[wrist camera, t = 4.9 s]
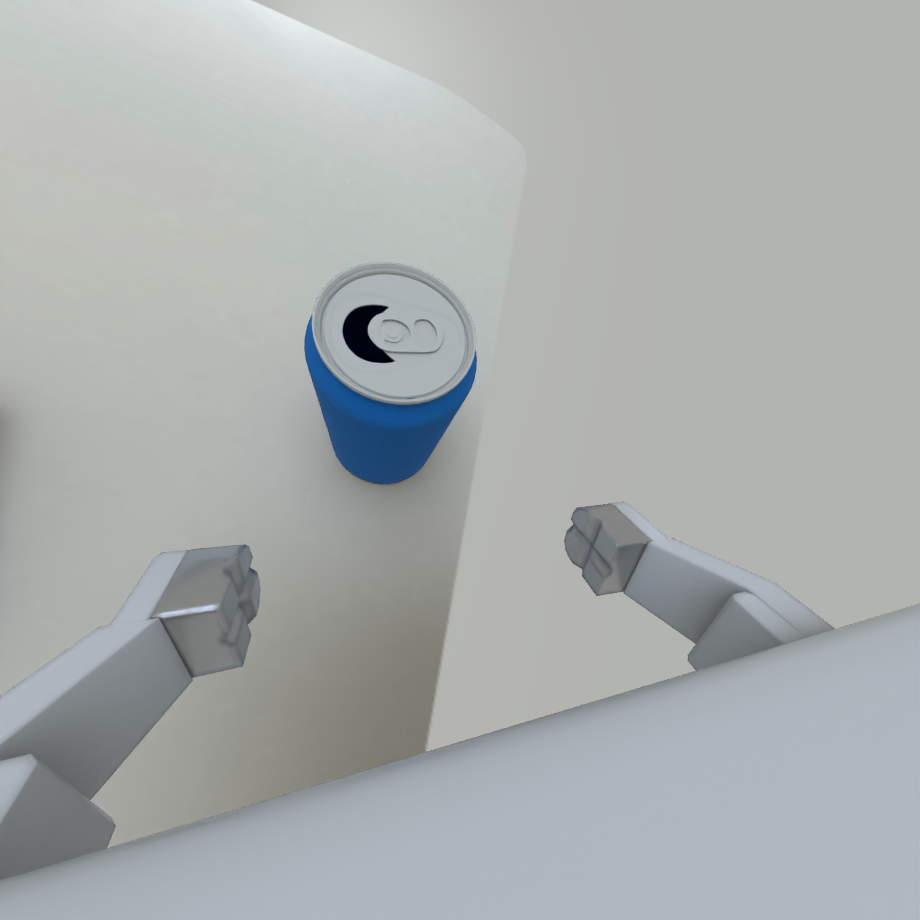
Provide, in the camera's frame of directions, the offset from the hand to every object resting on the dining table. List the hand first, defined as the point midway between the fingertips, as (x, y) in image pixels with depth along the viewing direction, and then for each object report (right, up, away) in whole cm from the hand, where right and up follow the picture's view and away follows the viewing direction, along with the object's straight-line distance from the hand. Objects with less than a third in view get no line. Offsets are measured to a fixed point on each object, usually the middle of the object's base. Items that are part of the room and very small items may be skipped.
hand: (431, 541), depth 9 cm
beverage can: (-5, +3, +14) cm, 15 cm away
